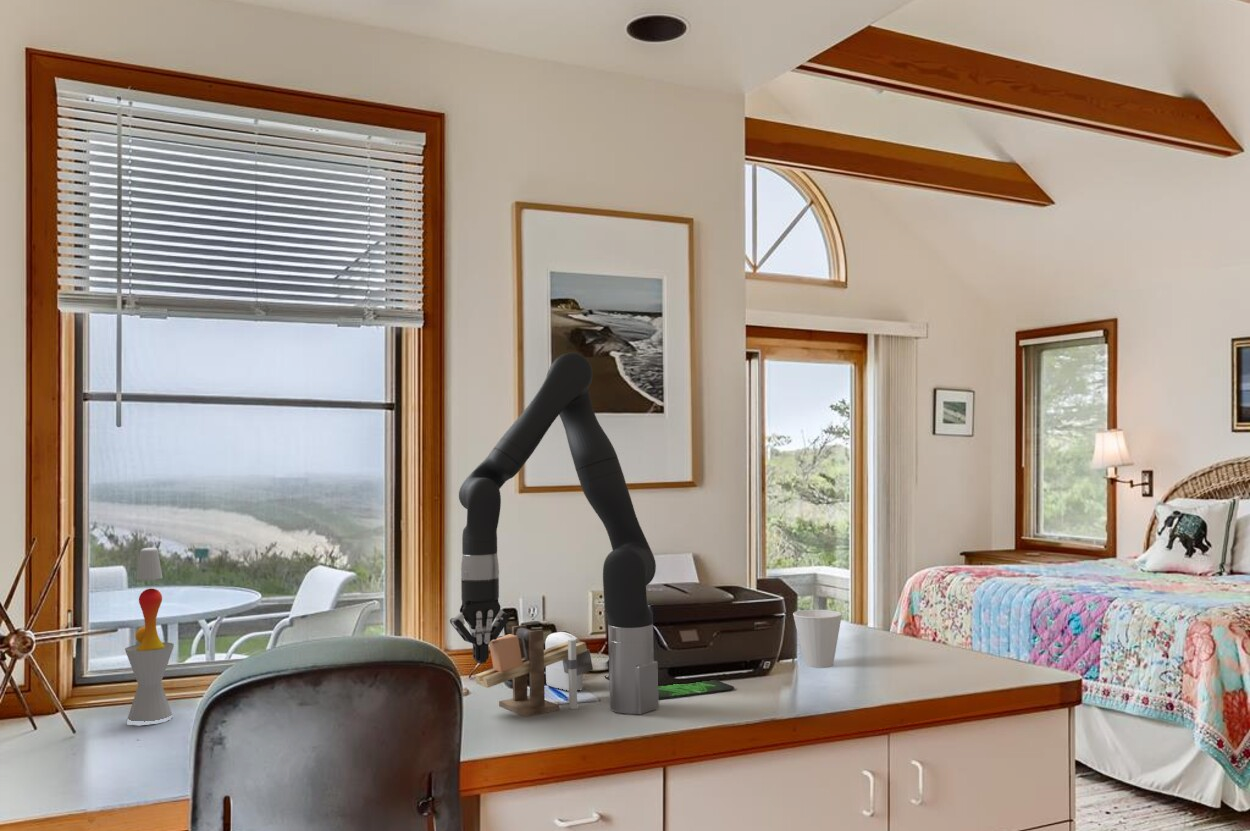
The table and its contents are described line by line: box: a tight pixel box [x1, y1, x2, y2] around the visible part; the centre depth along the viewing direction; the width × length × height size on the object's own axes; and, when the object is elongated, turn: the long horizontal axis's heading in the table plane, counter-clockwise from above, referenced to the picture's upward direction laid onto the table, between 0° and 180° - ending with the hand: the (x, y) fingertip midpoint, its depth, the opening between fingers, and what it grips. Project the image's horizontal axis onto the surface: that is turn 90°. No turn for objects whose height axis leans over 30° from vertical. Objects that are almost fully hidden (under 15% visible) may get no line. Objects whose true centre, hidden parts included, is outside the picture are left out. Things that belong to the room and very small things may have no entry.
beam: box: [474, 627, 593, 688], centre depth 206 cm, size 25×6×12 cm, turn 125°
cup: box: [792, 609, 843, 669], centre depth 240 cm, size 12×12×12 cm
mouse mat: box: [603, 675, 735, 701], centre depth 224 cm, size 27×22×1 cm
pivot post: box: [498, 624, 560, 717], centre depth 205 cm, size 8×11×16 cm
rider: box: [489, 633, 523, 672], centre depth 202 cm, size 5×3×7 cm
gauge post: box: [567, 639, 578, 710], centre depth 204 cm, size 2×2×14 cm
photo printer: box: [544, 631, 584, 692], centre depth 222 cm, size 10×4×12 cm, turn 39°
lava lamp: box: [124, 547, 175, 722], centre depth 202 cm, size 9×9×35 cm
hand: (480, 662), depth 199 cm, fingers closed
